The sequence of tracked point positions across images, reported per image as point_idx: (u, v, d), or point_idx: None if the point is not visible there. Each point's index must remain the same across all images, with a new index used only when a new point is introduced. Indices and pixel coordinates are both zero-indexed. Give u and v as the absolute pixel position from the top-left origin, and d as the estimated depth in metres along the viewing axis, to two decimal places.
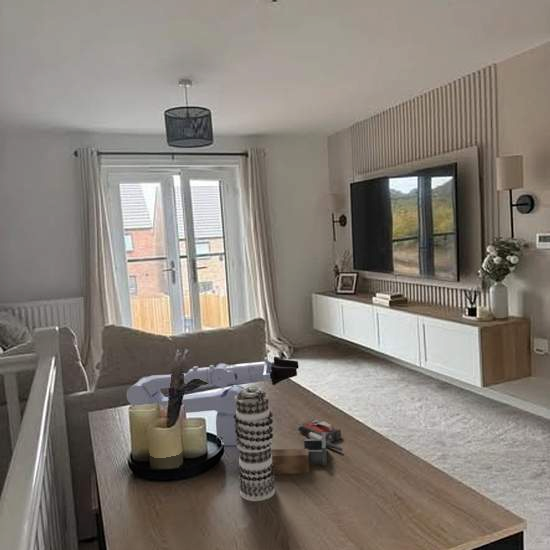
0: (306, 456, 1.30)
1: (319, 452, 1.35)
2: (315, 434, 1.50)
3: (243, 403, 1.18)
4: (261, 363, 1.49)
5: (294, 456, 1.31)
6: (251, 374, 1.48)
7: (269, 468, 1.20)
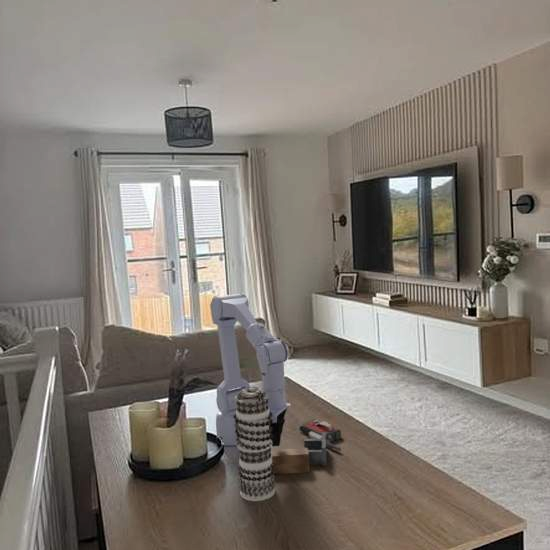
0: (307, 455, 1.31)
1: (319, 452, 1.35)
2: (315, 434, 1.50)
3: (243, 403, 1.18)
4: (284, 402, 1.30)
5: (295, 456, 1.31)
6: (273, 393, 1.28)
7: (269, 468, 1.20)
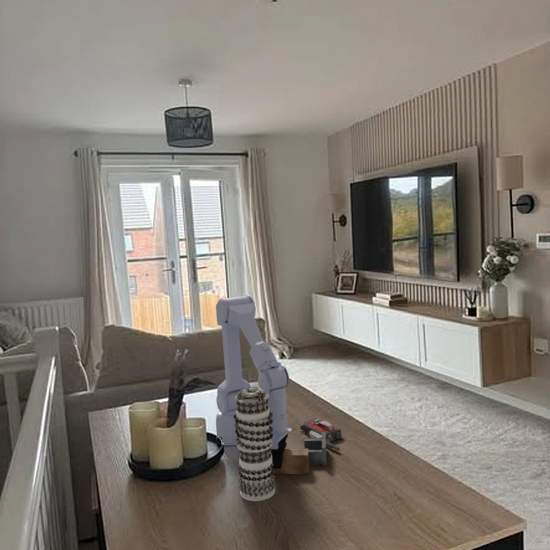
0: (306, 456, 1.30)
1: (319, 452, 1.35)
2: (315, 433, 1.51)
3: (243, 403, 1.18)
4: (285, 427, 1.31)
5: (294, 456, 1.30)
6: (275, 418, 1.29)
7: (269, 468, 1.20)
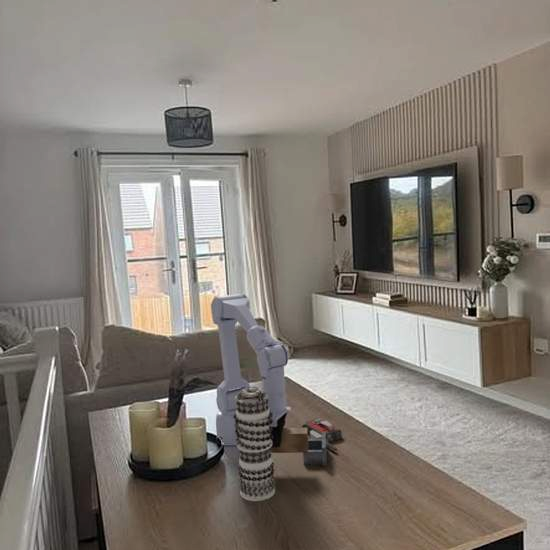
0: (305, 435, 1.30)
1: (319, 452, 1.35)
2: (315, 432, 1.51)
3: (243, 403, 1.18)
4: (284, 405, 1.30)
5: (293, 435, 1.30)
6: (273, 397, 1.29)
7: (269, 468, 1.20)
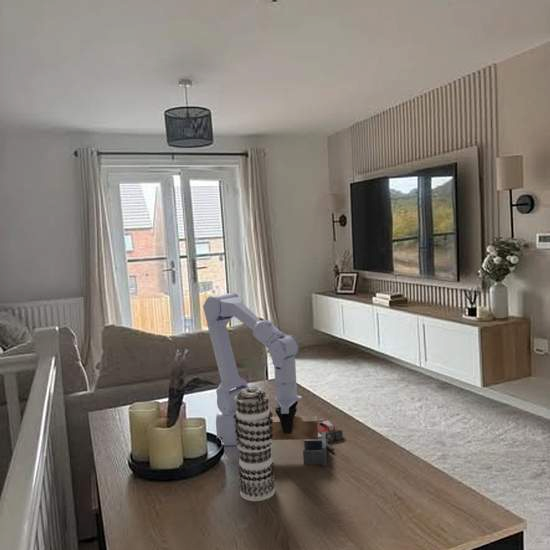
0: (315, 422, 1.36)
1: (319, 452, 1.35)
2: None
3: (243, 403, 1.18)
4: (295, 394, 1.37)
5: (303, 422, 1.37)
6: (285, 385, 1.35)
7: (269, 468, 1.20)
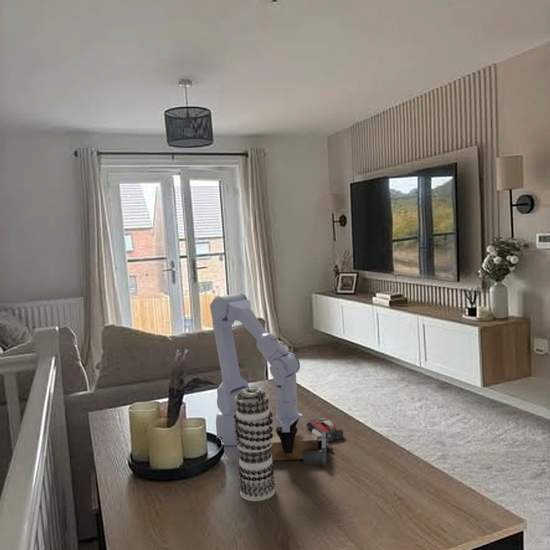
0: (315, 441, 1.37)
1: (319, 452, 1.35)
2: (316, 431, 1.52)
3: (243, 403, 1.18)
4: (296, 412, 1.37)
5: (303, 442, 1.37)
6: (286, 404, 1.36)
7: (269, 468, 1.20)
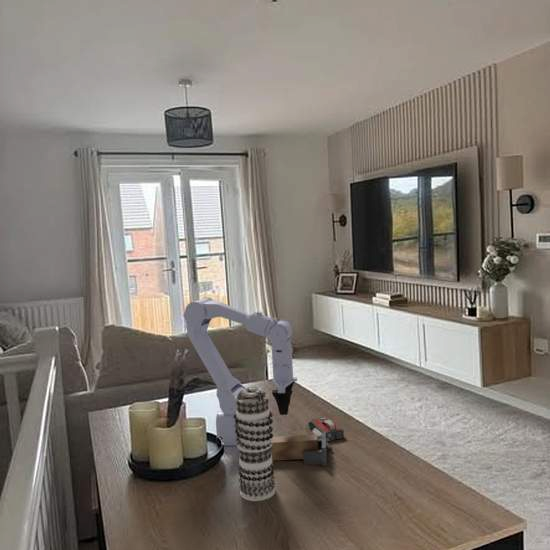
0: (315, 441, 1.37)
1: (319, 452, 1.35)
2: (317, 431, 1.52)
3: (243, 403, 1.18)
4: (292, 375, 1.46)
5: (303, 442, 1.37)
6: (282, 367, 1.44)
7: (269, 468, 1.20)
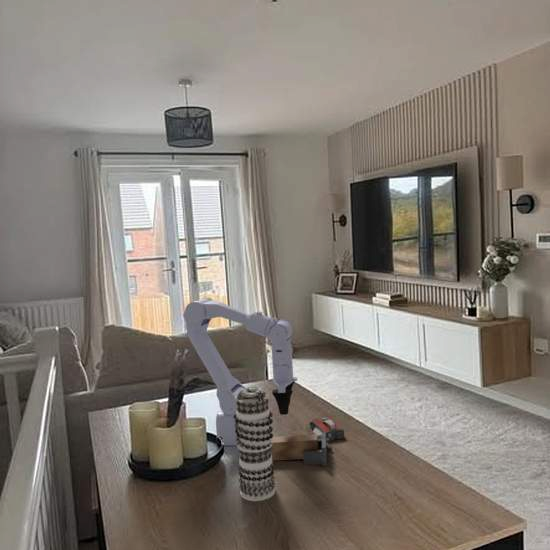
0: (315, 441, 1.37)
1: (319, 452, 1.35)
2: (317, 430, 1.53)
3: (243, 403, 1.18)
4: (292, 375, 1.46)
5: (303, 442, 1.37)
6: (282, 367, 1.44)
7: (269, 468, 1.20)
